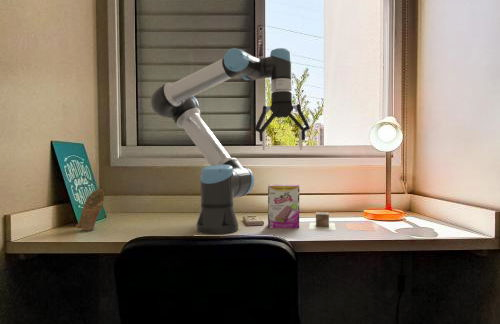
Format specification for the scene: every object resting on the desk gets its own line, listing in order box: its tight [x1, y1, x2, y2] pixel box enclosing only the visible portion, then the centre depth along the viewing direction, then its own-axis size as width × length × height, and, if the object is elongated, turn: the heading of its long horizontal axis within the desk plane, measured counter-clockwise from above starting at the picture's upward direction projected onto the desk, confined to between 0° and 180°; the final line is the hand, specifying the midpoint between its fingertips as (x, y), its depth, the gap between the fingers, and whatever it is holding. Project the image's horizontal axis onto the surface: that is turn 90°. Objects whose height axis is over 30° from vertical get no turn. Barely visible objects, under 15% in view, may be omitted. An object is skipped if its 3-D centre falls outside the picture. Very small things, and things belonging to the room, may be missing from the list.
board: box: [308, 222, 377, 232], centre depth 130 cm, size 24×14×2 cm, turn 79°
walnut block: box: [315, 211, 330, 227], centre depth 131 cm, size 4×4×4 cm
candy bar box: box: [267, 184, 300, 229], centre depth 131 cm, size 11×5×16 cm, turn 84°
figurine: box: [75, 188, 105, 231], centre depth 135 cm, size 8×8×15 cm
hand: (282, 150), depth 135 cm, fingers open, 13 cm apart
